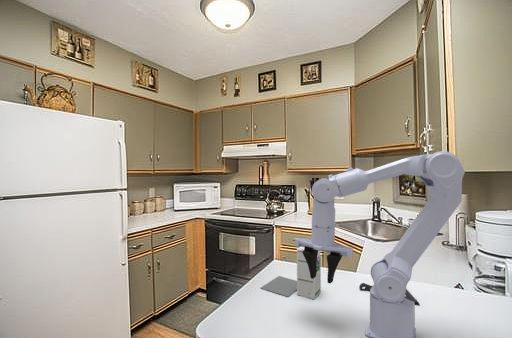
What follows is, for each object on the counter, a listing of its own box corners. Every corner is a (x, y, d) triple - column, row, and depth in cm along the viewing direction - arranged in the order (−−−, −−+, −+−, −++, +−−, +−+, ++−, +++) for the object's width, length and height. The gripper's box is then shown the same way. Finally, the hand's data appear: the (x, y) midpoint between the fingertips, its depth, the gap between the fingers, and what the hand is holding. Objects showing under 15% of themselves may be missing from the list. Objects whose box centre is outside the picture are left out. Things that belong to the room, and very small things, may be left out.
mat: (304, 283, 88) (304, 282, 88) (288, 297, 78) (288, 296, 78) (278, 276, 94) (278, 275, 94) (260, 288, 84) (260, 287, 84)
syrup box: (314, 300, 77) (315, 250, 77) (296, 294, 80) (296, 247, 80) (320, 292, 81) (321, 246, 82) (303, 288, 85) (303, 243, 85)
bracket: (355, 282, 91) (355, 274, 91) (401, 286, 89) (401, 278, 89) (364, 302, 77) (364, 293, 77) (419, 308, 74) (419, 298, 74)
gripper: (290, 224, 67) (288, 277, 67) (347, 233, 59) (346, 293, 59) (302, 220, 73) (300, 269, 73) (355, 228, 64) (354, 283, 64)
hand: (321, 279), depth 66 cm, fingers open, 4 cm apart
